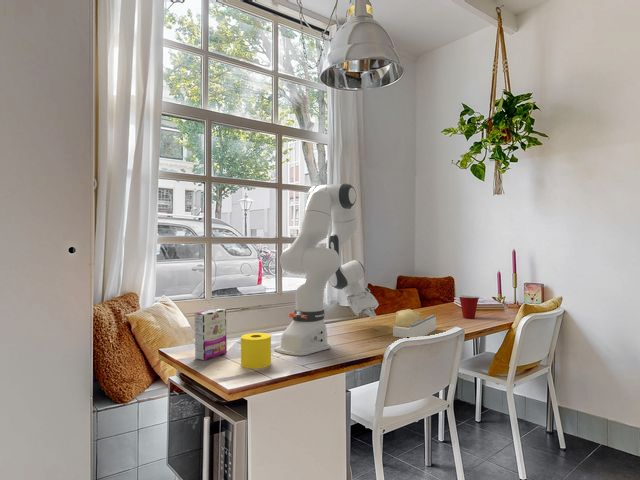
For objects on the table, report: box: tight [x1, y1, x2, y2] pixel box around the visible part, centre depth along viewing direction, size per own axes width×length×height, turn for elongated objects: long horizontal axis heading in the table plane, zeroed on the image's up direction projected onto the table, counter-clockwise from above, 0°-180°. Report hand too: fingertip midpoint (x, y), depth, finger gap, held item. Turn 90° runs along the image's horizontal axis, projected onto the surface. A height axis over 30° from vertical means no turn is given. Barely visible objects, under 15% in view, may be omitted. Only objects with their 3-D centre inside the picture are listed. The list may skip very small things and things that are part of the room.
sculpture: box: [394, 308, 422, 328], centre depth 186 cm, size 12×12×11 cm
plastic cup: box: [458, 294, 480, 320], centre depth 222 cm, size 11×11×12 cm
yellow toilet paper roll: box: [240, 332, 272, 370], centre depth 141 cm, size 10×10×9 cm
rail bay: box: [392, 314, 437, 339], centre depth 185 cm, size 28×11×7 cm, turn 146°
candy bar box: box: [194, 308, 228, 361], centre depth 150 cm, size 11×5×16 cm, turn 148°
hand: (374, 317), depth 196 cm, fingers closed
